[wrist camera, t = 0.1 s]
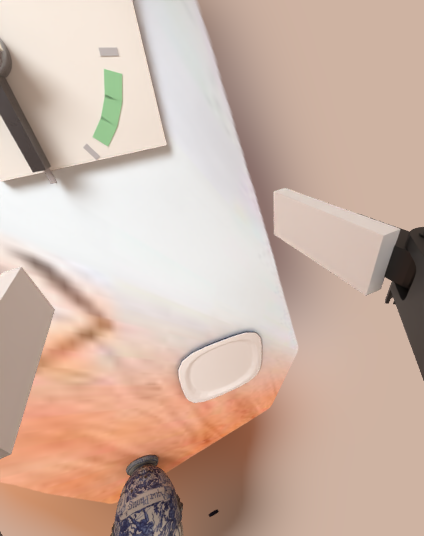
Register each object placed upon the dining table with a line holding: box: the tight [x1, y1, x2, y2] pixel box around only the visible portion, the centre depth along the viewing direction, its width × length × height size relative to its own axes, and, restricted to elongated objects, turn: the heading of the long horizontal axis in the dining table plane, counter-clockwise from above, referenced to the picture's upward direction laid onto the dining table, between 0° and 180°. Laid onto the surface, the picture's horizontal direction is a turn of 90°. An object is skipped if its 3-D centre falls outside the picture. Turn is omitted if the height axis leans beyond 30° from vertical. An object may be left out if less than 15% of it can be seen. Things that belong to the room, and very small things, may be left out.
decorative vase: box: [111, 455, 183, 536], centre depth 69 cm, size 21×19×28 cm
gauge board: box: [0, 0, 167, 184], centre depth 27 cm, size 18×22×2 cm
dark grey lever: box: [0, 38, 51, 173], centre depth 24 cm, size 13×5×5 cm, turn 10°
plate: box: [178, 332, 262, 403], centre depth 68 cm, size 25×25×2 cm
